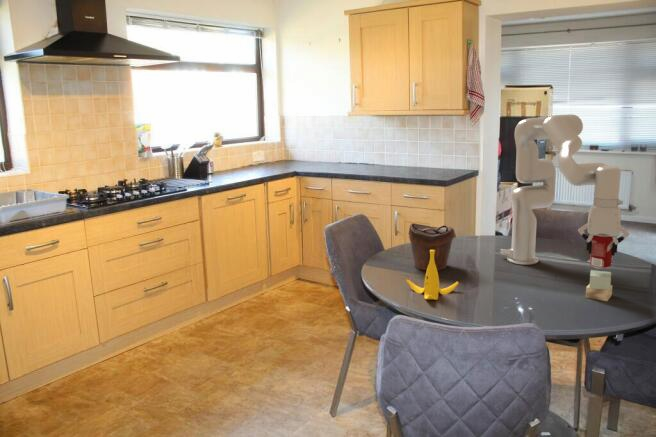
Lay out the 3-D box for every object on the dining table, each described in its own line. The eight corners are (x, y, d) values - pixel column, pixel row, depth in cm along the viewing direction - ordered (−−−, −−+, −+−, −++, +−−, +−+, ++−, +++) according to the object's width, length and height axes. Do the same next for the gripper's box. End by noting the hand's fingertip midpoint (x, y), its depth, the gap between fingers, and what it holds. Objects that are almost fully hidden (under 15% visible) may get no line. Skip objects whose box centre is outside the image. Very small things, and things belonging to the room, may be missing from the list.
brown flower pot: (464, 268, 239) (465, 225, 235) (421, 275, 232) (421, 231, 228) (440, 257, 255) (440, 217, 252) (400, 264, 248) (399, 223, 245)
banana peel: (429, 305, 202) (429, 259, 198) (405, 288, 220) (405, 244, 216) (471, 299, 207) (472, 253, 203) (445, 282, 224) (445, 240, 221)
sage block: (589, 287, 204) (590, 275, 202) (589, 282, 209) (590, 270, 208) (609, 290, 201) (611, 277, 200) (609, 284, 207) (611, 272, 206)
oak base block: (585, 297, 205) (586, 287, 204) (590, 292, 211) (591, 281, 210) (606, 301, 201) (607, 290, 200) (611, 295, 207) (612, 285, 206)
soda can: (601, 271, 199) (604, 237, 197) (585, 266, 205) (587, 232, 202) (615, 268, 202) (618, 234, 200) (598, 262, 208) (601, 230, 205)
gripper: (633, 202, 198) (628, 253, 203) (578, 199, 205) (574, 248, 210) (635, 206, 192) (629, 259, 196) (577, 203, 199) (573, 254, 203)
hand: (601, 253), depth 203 cm, fingers closed on soda can, 6 cm apart
